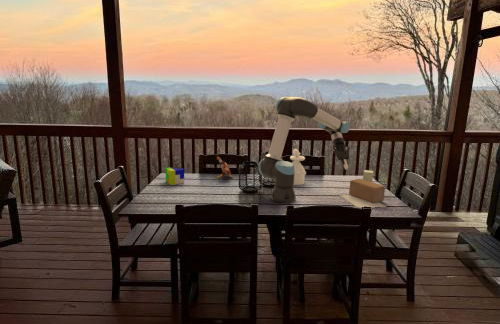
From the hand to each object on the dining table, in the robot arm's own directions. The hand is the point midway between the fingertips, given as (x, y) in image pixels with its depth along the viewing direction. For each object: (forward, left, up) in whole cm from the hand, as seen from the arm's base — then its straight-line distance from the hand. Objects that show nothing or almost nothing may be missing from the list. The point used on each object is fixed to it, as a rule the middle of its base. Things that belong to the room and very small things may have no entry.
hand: (346, 168), depth 225 cm
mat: (+16, -17, -16) cm, 28 cm away
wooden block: (+7, -5, -10) cm, 14 cm away
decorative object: (-35, -4, -16) cm, 39 cm away
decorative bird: (-85, -25, -16) cm, 90 cm away
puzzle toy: (-105, -57, -16) cm, 121 cm away
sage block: (+13, +8, -16) cm, 22 cm away
